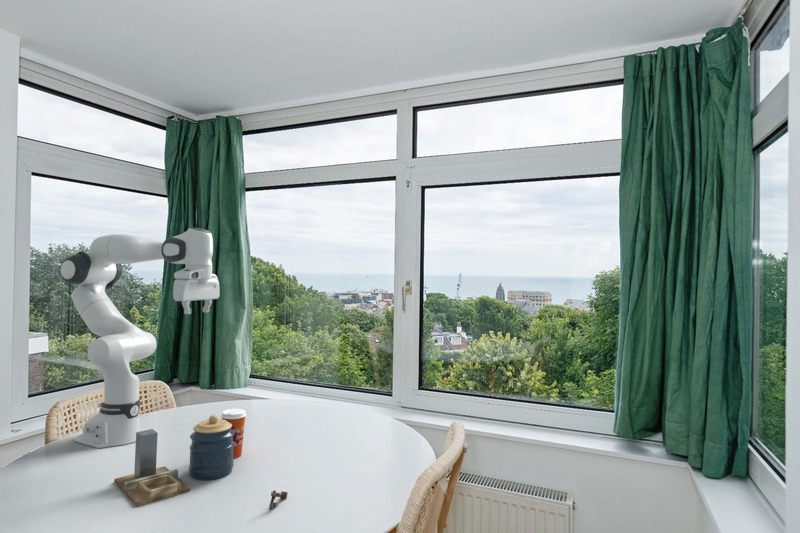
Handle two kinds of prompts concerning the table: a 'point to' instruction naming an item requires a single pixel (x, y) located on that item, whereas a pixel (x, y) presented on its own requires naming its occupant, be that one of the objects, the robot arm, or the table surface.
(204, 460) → the canister
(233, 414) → the coffee cup
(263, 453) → the table surface
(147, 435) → the bar
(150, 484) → the door board
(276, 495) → the wooden post with brackets
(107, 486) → the table surface
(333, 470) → the table surface
